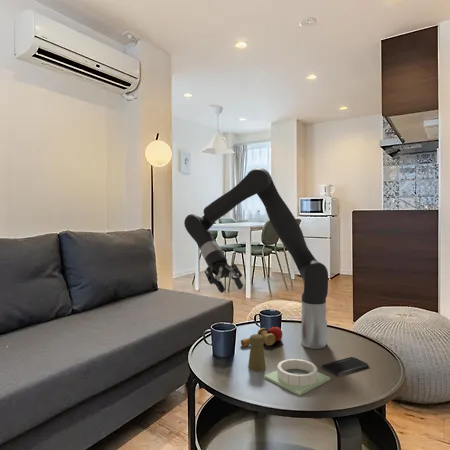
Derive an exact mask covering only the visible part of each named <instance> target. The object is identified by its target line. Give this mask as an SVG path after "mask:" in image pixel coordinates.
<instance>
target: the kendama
mask: <svg viewBox="0 0 450 450" xmlns="http://www.w3.org/2000/svg"><path fill="white" fill-rule="evenodd" d="M271 327H272V328H271ZM271 327H270V328H269V329H267V328H265V327H261V328H259V329H258V331H257V334H259V335H262V336H263V337H264V340H265V342H264V345H266V346H272V345H274V343H277V342H279V341H281V340H282V338H283V331H282V329H281V328H280V327H279V326H276V327H273V326H271ZM267 331H268V332H267ZM249 338H250V337H248V338H244V339H241V340H240V344H241V347H242V348H246V347H248V346H251V345H250V343H249Z"/></svg>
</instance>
